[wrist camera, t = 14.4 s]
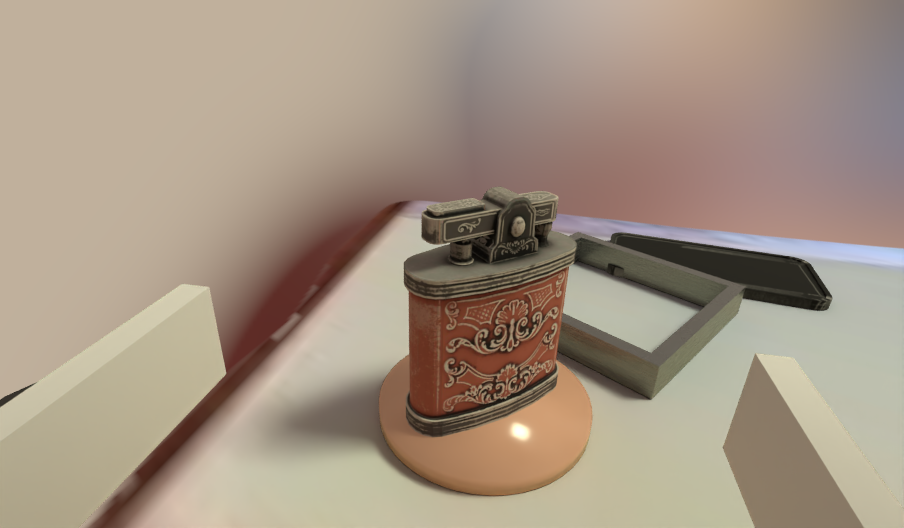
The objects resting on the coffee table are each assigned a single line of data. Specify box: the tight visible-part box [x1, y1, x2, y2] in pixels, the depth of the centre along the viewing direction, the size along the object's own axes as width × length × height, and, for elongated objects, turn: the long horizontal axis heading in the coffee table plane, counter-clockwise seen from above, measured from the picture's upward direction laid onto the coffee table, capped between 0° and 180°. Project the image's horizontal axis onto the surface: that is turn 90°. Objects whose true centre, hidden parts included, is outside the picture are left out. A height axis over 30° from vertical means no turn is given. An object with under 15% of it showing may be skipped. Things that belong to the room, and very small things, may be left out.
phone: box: [607, 233, 832, 311], centre depth 39 cm, size 8×1×15 cm
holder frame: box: [557, 232, 746, 399], centre depth 33 cm, size 13×13×2 cm
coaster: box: [379, 355, 592, 495], centre depth 24 cm, size 10×10×1 cm
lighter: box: [404, 187, 577, 437], centre depth 22 cm, size 8×3×10 cm, turn 121°
